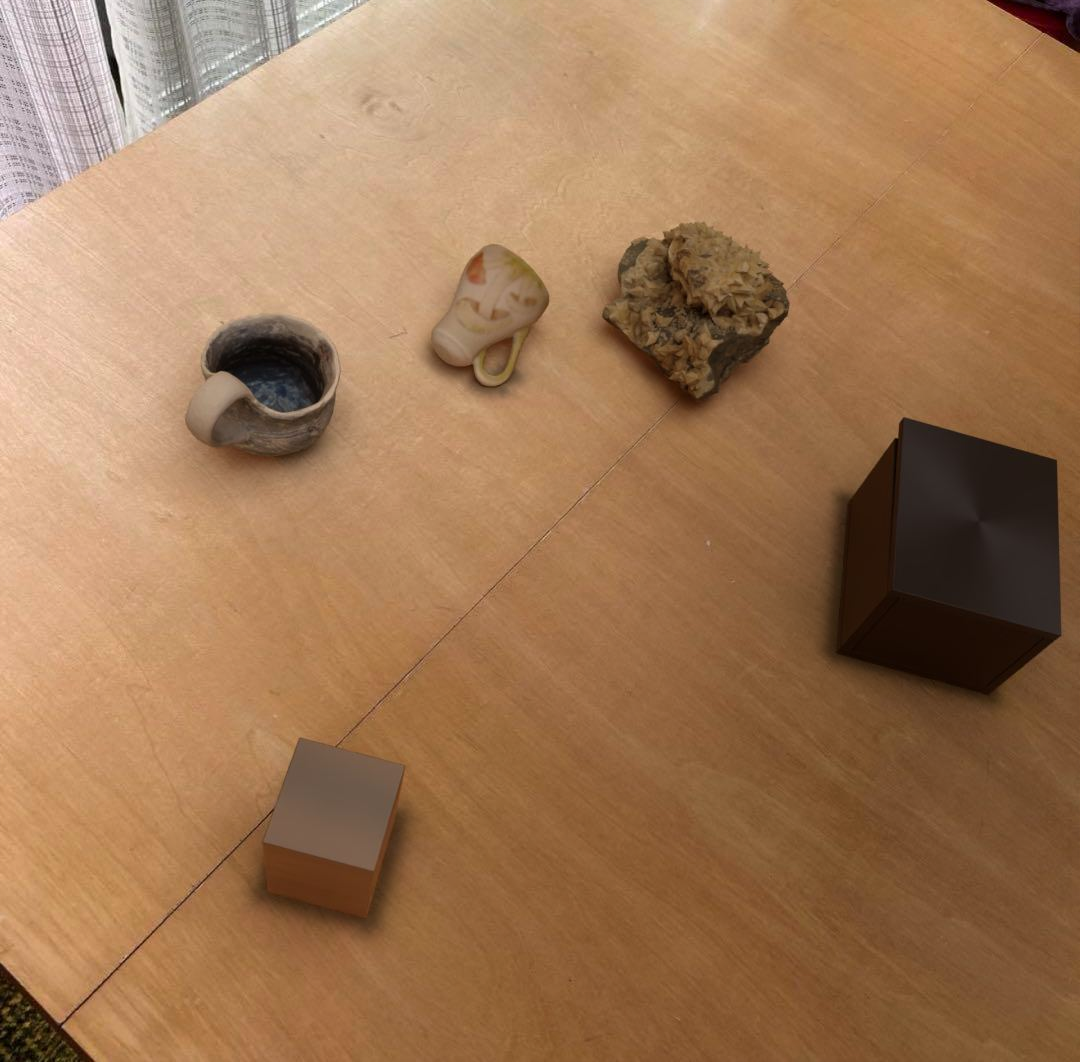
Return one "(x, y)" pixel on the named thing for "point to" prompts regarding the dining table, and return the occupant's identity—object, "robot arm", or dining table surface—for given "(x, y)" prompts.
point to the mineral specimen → (696, 305)
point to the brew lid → (976, 529)
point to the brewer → (913, 607)
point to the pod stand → (331, 827)
